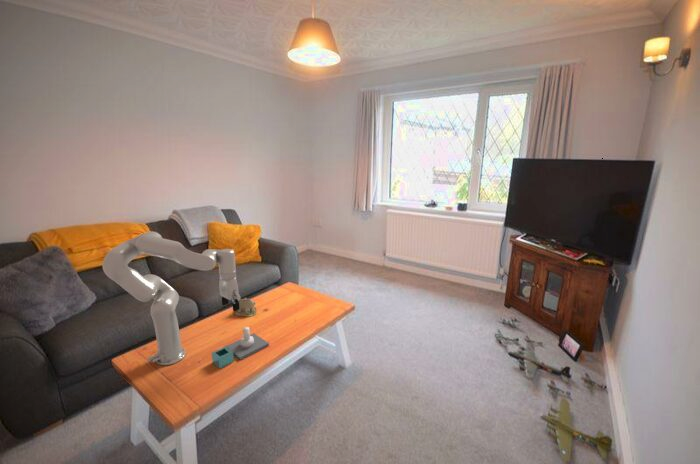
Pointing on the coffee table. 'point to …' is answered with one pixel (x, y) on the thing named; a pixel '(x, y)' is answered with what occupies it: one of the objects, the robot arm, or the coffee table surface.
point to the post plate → (247, 350)
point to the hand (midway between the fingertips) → (230, 307)
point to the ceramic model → (246, 308)
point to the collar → (222, 357)
